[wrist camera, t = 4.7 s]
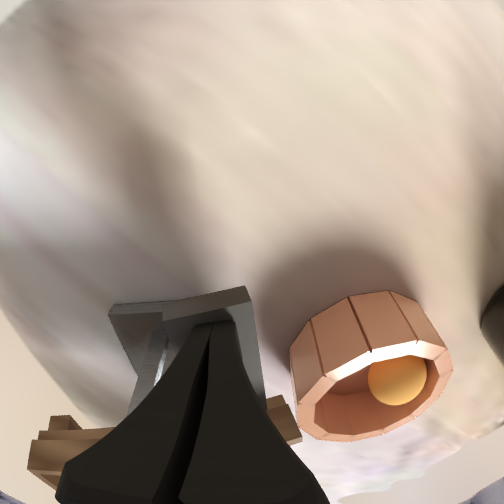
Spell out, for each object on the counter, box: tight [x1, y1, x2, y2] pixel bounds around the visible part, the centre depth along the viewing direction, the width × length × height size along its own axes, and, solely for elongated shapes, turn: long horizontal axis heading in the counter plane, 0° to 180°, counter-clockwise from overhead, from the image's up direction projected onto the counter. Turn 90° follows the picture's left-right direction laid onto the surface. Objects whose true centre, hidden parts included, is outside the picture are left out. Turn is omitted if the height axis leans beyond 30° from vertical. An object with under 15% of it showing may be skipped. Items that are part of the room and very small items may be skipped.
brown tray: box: [27, 286, 302, 490], centre depth 13 cm, size 14×14×4 cm
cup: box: [289, 291, 453, 442], centre depth 18 cm, size 10×10×4 cm
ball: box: [368, 354, 427, 405], centre depth 18 cm, size 4×4×4 cm
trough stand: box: [108, 300, 178, 416], centre depth 17 cm, size 6×12×8 cm, turn 7°
